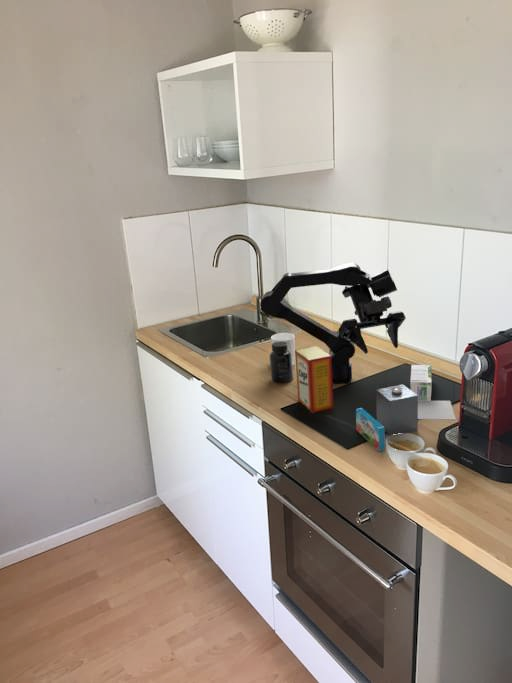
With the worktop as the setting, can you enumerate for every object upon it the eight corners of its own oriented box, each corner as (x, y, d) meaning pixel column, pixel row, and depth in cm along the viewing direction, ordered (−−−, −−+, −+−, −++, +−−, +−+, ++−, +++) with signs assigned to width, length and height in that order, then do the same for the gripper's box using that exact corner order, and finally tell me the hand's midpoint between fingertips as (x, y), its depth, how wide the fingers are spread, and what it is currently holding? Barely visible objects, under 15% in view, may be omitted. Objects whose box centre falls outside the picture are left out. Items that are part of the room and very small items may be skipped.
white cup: (269, 368, 192) (267, 339, 188) (277, 359, 199) (275, 332, 195) (291, 369, 189) (290, 341, 185) (299, 361, 196) (297, 333, 192)
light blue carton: (385, 450, 136) (384, 427, 134) (379, 452, 135) (378, 428, 133) (361, 429, 147) (361, 407, 145) (356, 430, 146) (355, 408, 144)
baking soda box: (298, 400, 166) (295, 348, 161) (318, 396, 168) (316, 344, 162) (311, 413, 157) (308, 359, 152) (333, 408, 159) (331, 354, 154)
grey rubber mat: (411, 420, 149) (411, 418, 148) (408, 402, 159) (408, 400, 159) (455, 421, 146) (455, 419, 146) (450, 402, 157) (450, 400, 156)
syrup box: (430, 383, 170) (432, 402, 157) (410, 382, 171) (409, 401, 158) (431, 364, 168) (432, 382, 155) (410, 364, 170) (409, 381, 156)
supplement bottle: (296, 376, 183) (294, 341, 179) (288, 385, 177) (285, 348, 173) (276, 374, 186) (273, 339, 182) (268, 382, 180) (265, 346, 176)
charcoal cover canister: (376, 425, 148) (376, 385, 144) (402, 420, 149) (403, 380, 146) (390, 438, 141) (390, 397, 137) (417, 432, 143) (418, 391, 139)
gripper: (341, 292, 158) (359, 342, 151) (402, 283, 162) (422, 331, 156) (331, 313, 168) (348, 360, 161) (389, 303, 172) (407, 349, 165)
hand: (381, 350), depth 161 cm, fingers open, 9 cm apart
